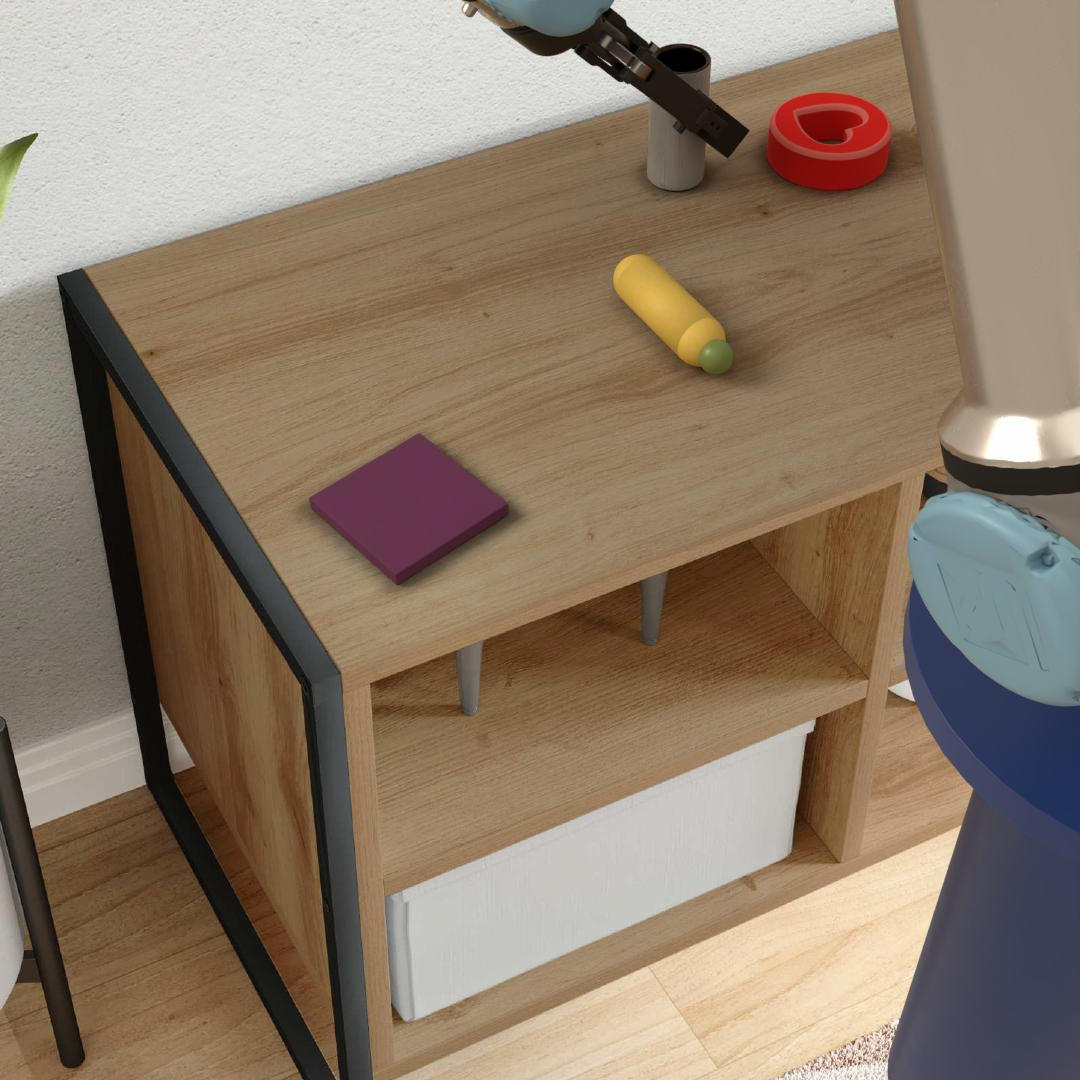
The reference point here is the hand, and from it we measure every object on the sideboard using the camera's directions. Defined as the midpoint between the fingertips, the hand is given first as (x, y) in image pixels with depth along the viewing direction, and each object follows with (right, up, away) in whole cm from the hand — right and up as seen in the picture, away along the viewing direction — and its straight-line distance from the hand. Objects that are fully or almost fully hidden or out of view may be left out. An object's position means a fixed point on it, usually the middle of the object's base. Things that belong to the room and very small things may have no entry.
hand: (716, 126), depth 124 cm
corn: (-5, -18, -12) cm, 22 cm away
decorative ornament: (+9, -2, +3) cm, 10 cm away
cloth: (-22, -31, -24) cm, 45 cm away
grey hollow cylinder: (-3, -4, +1) cm, 5 cm away
